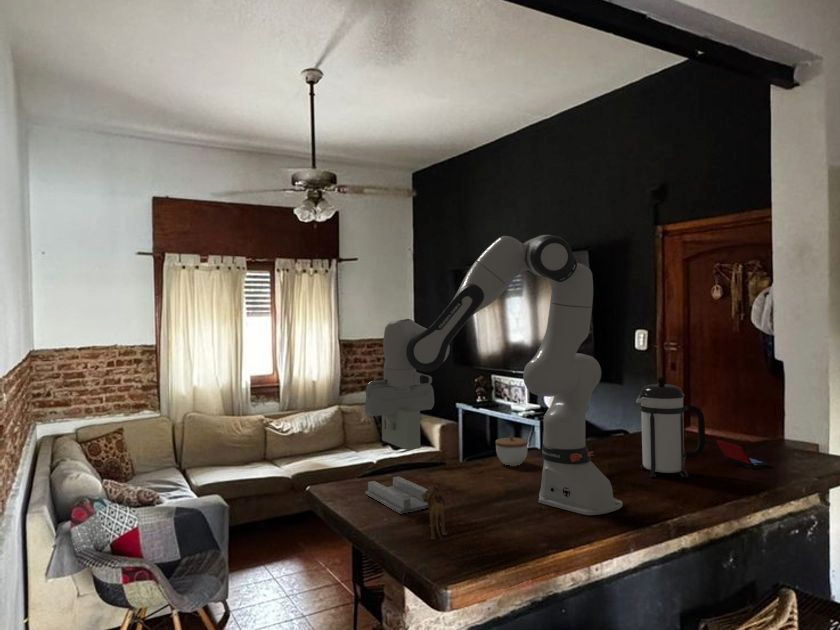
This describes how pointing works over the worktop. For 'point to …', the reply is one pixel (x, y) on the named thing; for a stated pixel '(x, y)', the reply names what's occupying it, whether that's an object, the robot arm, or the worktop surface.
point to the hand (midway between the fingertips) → (400, 428)
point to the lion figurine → (435, 510)
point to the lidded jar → (511, 450)
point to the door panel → (403, 429)
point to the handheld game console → (740, 455)
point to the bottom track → (413, 502)
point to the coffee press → (666, 429)
